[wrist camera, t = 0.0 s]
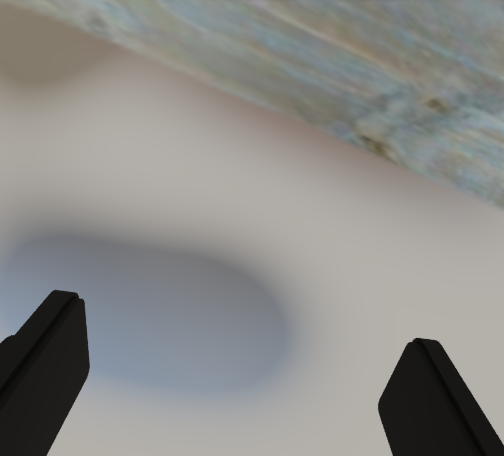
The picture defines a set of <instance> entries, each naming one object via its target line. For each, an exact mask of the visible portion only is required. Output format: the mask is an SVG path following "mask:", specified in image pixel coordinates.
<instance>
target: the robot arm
mask: <svg viewBox="0 0 504 456" xmlns="http://www.w3.org/2000/svg"><path fill="white" fill-rule="evenodd" d="M89 368H90V363H89V351H88V339H87V327H86V315H85V303H84V300H83V299H79V296H78V294H77V293H75V292H67V291H60V290H54V291H52V292H51V293H50V294H49V295H48V297H47V298H46V299H45V300H44V301H43V303H42V304H41V305H40V306H39V307H38V308H37V309H36V311H35V312H34V313H33V314H32V315H31V317H30V318H29V319H28V320H27V321H26V322H25V324H24V325H23V326H22V327H21V328H20V329H19V331H18V332H17V333H16V334H15V335H11V336H9V337H7V338H6V339H5V340H3V341H2V342H1V343H0V456H47V454H48V452H49V450H50V448H51V446H52V444H53V442H54V440H55V438H56V436H57V434H58V432H59V430H60V429H61V427H62V425H63V423H64V421H65V419H66V417H67V415H68V413H69V411H70V409H71V408H72V406H73V404H74V402H75V400H76V398H77V396H78V394H79V392H80V390H81V388H82V386H83V384H84V383H85V380H86V379H87V376H88V373H89ZM378 411H379V415H380V418H381V421H382V424H383V427H384V430H385V433H386V436H387V439H388V442H389V445H390V448H391V451H392V454H393V456H504V445H503V444H502V442H501V440H500V439H499V437H498V435H497V434H496V432H495V430H494V429H493V427H492V426H491V424H490V422H489V421H488V419H487V418H486V416H485V414H484V413H483V411H482V410H481V408H480V406H479V405H478V403H477V401H476V400H475V398H474V397H473V395H472V393H471V392H470V390H469V389H468V387H467V385H466V384H465V382H464V381H463V379H462V377H461V376H460V375H459V373H458V371H457V369H456V368H455V366H454V365H453V363H452V361H451V360H450V358H449V357H448V355H447V353H446V352H445V350H444V348H443V347H442V345H441V344H440V343H439V342H438V341H436V340H430V339H422V338H415V339H414V340H413V341H412V342H409V343H408V344H407V346H406V347H405V349H404V351H403V353H402V356H401V358H400V360H399V361H398V363H397V365H396V367H395V370H394V371H393V373H392V375H391V377H390V380H389V381H388V384H387V386H386V388H385V390H384V392H383V394H382V396H381V398H380V400H379V403H378Z"/></svg>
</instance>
